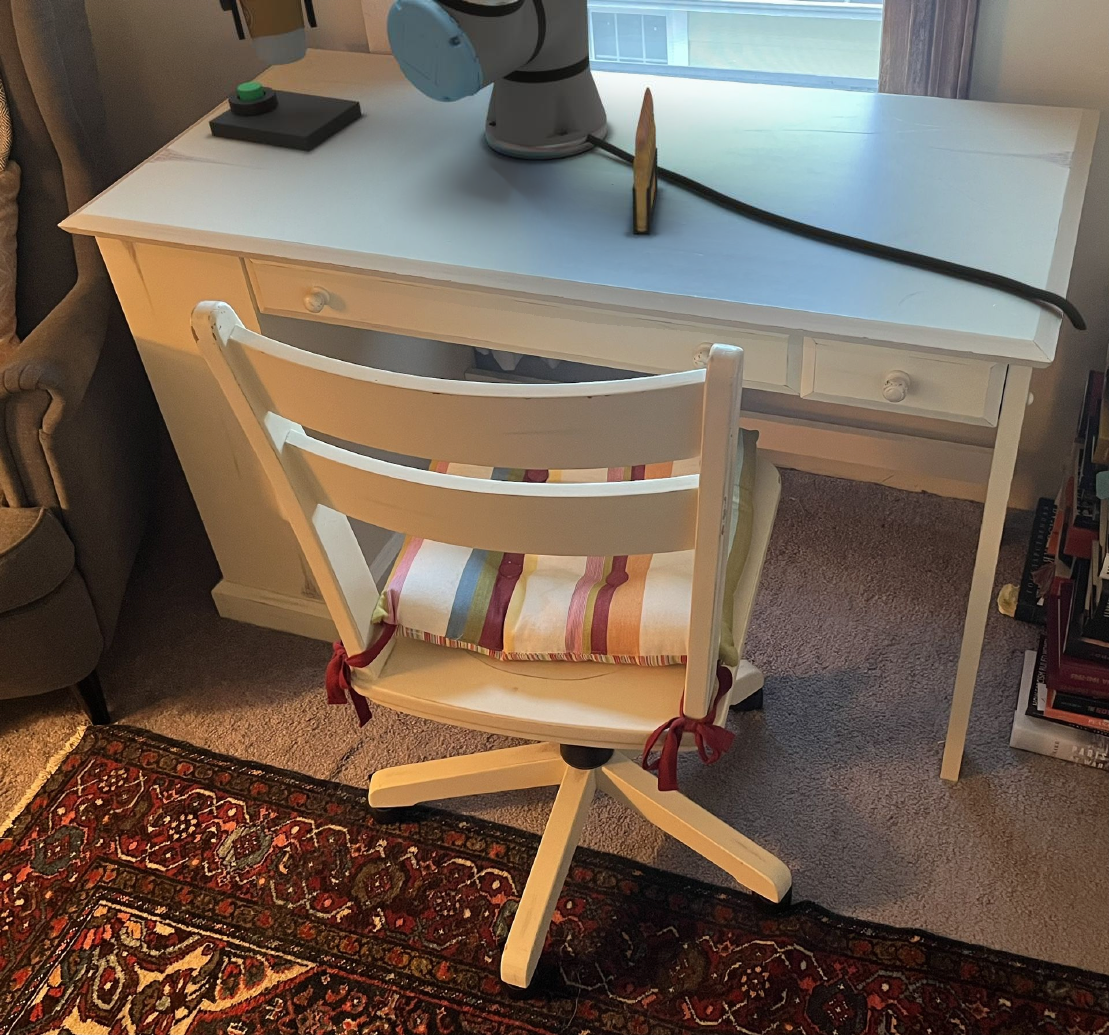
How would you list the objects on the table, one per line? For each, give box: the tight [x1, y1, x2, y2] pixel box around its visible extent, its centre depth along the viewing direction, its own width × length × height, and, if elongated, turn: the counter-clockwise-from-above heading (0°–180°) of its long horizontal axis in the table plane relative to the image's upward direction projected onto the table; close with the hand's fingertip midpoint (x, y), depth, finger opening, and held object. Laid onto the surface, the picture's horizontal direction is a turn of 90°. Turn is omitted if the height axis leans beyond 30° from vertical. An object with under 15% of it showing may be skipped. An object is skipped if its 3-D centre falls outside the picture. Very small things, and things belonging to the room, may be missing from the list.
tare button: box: [237, 81, 264, 101], centre depth 145 cm, size 3×3×2 cm
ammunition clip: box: [631, 87, 659, 235], centre depth 116 cm, size 11×2×12 cm, turn 172°
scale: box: [208, 85, 363, 152], centre depth 144 cm, size 16×12×4 cm
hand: (277, 30), depth 136 cm, fingers closed on coffee cup, 8 cm apart
